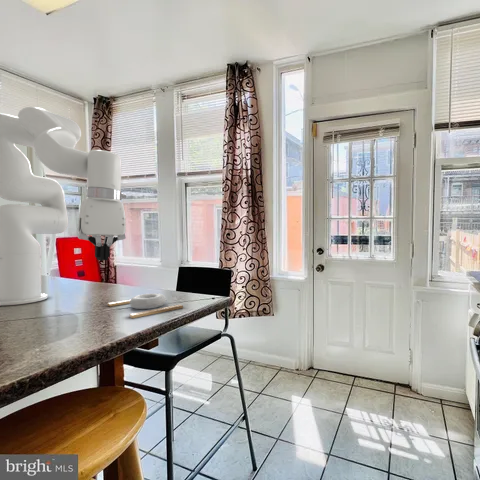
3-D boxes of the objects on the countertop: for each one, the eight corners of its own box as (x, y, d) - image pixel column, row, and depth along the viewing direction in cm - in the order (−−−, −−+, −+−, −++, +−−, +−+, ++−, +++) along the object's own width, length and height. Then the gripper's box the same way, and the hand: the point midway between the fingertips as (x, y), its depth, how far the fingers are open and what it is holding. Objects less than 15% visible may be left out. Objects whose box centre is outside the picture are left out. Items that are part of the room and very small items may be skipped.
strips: (107, 305, 86) (107, 303, 86) (154, 297, 98) (154, 295, 97) (132, 318, 74) (132, 315, 74) (182, 308, 86) (183, 305, 86)
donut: (161, 301, 94) (126, 305, 87) (161, 291, 94) (126, 294, 87) (170, 307, 87) (132, 312, 80) (170, 296, 87) (133, 300, 80)
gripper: (129, 199, 85) (127, 257, 86) (65, 192, 73) (63, 260, 73) (139, 198, 81) (137, 260, 81) (72, 191, 69) (70, 263, 69)
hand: (102, 259), depth 77 cm, fingers closed
